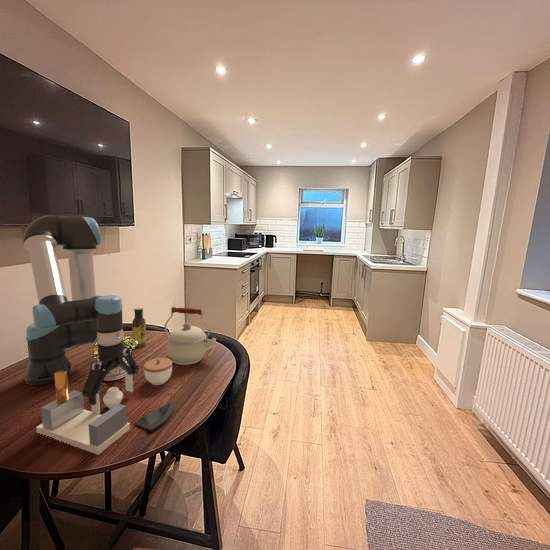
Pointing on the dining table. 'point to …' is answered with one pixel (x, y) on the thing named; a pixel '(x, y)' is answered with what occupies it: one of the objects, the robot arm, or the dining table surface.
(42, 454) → the dining table surface
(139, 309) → the sauce bottle
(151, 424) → the curved wedge
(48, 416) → the ram
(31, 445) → the dining table surface
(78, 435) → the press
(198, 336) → the kettle
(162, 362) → the lidded jar
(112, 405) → the white steamed bun
